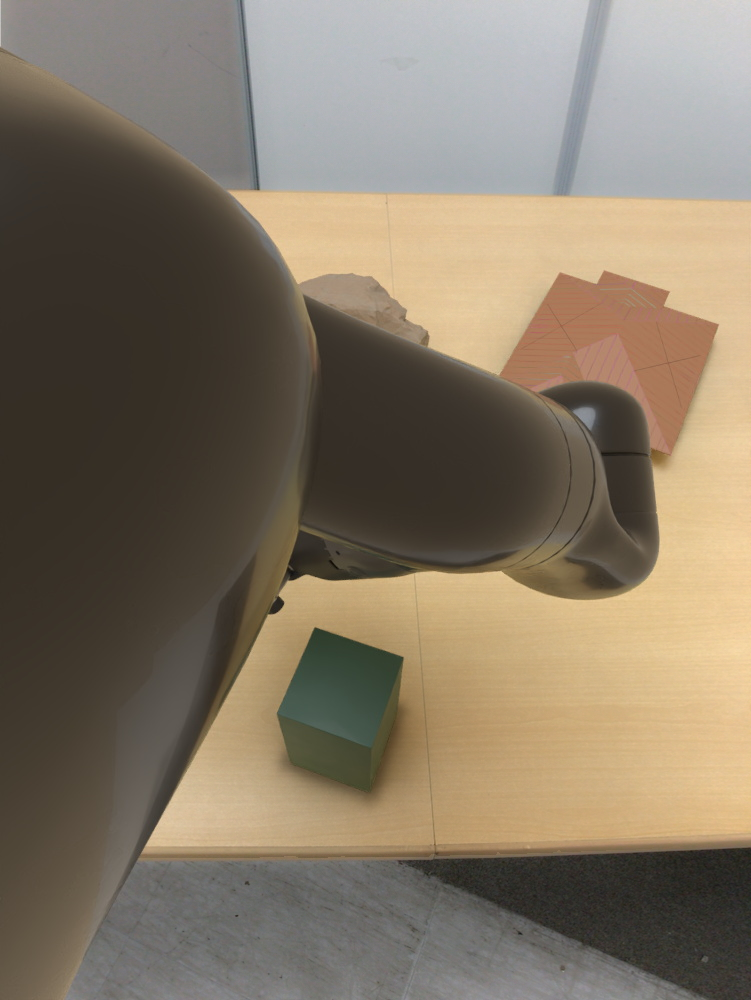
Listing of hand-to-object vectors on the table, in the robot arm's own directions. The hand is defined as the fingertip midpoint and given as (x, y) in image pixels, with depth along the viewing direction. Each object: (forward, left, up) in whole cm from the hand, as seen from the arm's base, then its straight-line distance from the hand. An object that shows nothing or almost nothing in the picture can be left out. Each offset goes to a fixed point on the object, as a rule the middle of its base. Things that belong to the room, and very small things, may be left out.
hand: (247, 539), depth 61 cm
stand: (-7, -11, -19) cm, 23 cm away
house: (+50, -26, -19) cm, 59 cm away
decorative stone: (+44, +7, -19) cm, 48 cm away
